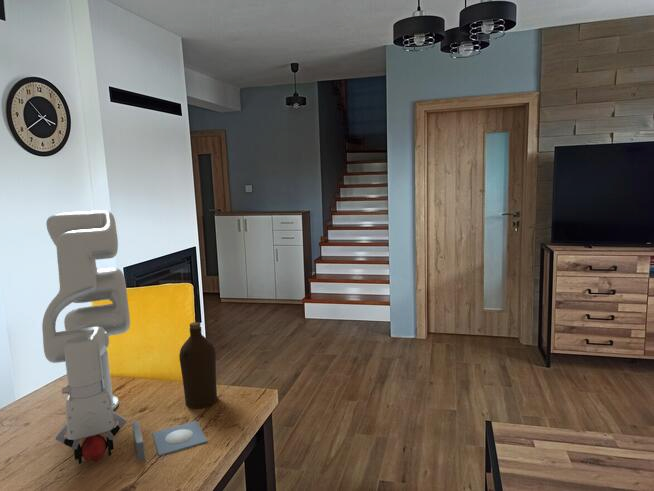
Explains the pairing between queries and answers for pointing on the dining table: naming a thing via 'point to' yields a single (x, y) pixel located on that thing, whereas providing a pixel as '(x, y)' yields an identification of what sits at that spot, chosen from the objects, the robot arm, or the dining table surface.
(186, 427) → the mat
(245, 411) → the dining table surface
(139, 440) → the low wall
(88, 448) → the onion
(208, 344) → the olive oil
